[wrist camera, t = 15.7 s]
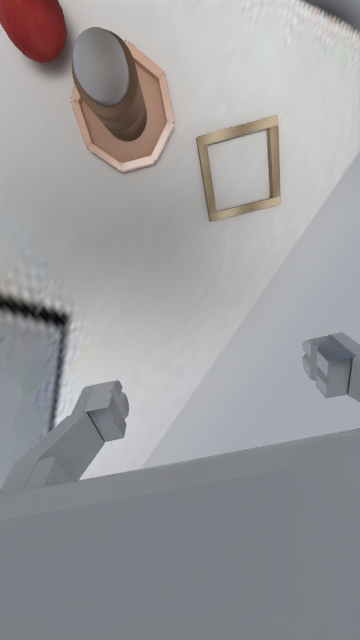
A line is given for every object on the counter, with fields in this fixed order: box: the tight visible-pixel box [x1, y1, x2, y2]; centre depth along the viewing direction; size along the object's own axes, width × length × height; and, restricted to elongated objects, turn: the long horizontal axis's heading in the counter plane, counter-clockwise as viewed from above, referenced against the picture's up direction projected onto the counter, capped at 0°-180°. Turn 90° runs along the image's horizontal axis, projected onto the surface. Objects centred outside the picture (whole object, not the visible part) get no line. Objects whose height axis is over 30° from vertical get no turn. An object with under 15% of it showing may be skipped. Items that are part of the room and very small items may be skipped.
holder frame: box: [197, 115, 281, 222], centre depth 32 cm, size 10×10×1 cm
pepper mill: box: [72, 27, 147, 142], centre depth 23 cm, size 5×5×12 cm
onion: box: [0, 0, 67, 63], centre depth 22 cm, size 6×6×8 cm
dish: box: [71, 40, 174, 173], centre depth 28 cm, size 11×11×2 cm
